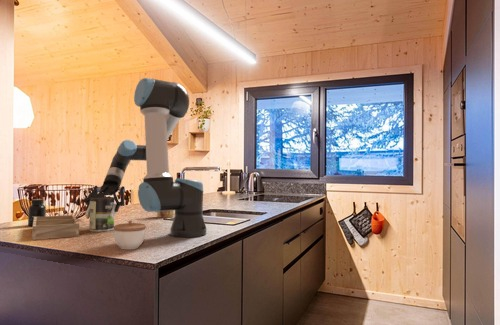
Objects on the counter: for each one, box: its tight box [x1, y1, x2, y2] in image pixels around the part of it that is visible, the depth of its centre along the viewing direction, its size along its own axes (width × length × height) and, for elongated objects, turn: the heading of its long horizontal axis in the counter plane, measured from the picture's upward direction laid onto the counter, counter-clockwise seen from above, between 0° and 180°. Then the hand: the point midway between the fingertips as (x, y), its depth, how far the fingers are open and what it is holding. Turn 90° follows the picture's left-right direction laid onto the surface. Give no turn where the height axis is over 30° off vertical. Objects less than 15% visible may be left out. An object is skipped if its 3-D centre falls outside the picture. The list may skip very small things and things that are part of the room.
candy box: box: [156, 210, 175, 218], centre depth 198 cm, size 9×4×15 cm, turn 103°
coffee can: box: [88, 196, 115, 233], centre depth 158 cm, size 10×10×14 cm
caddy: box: [31, 214, 80, 241], centre depth 151 cm, size 26×16×5 cm, turn 30°
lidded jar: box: [113, 220, 147, 250], centre depth 126 cm, size 11×11×9 cm
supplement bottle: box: [27, 198, 47, 227], centre depth 166 cm, size 7×7×12 cm
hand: (99, 217), depth 155 cm, fingers closed on coffee can, 10 cm apart
